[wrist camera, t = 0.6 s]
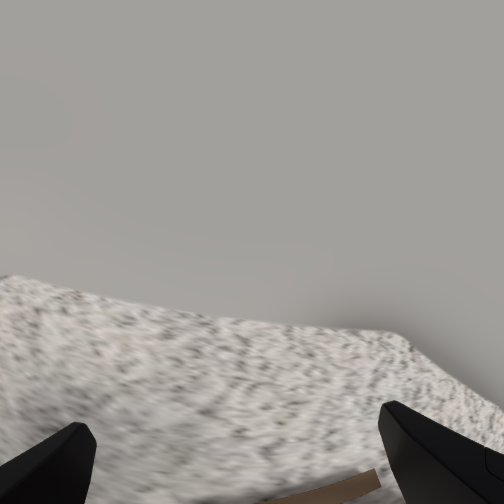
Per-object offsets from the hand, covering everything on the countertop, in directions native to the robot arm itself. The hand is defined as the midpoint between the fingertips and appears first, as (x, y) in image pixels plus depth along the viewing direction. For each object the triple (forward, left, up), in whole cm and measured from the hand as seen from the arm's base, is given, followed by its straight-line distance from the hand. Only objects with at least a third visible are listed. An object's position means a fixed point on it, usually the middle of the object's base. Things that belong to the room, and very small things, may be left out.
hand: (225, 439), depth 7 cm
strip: (-3, -6, -17) cm, 18 cm away
